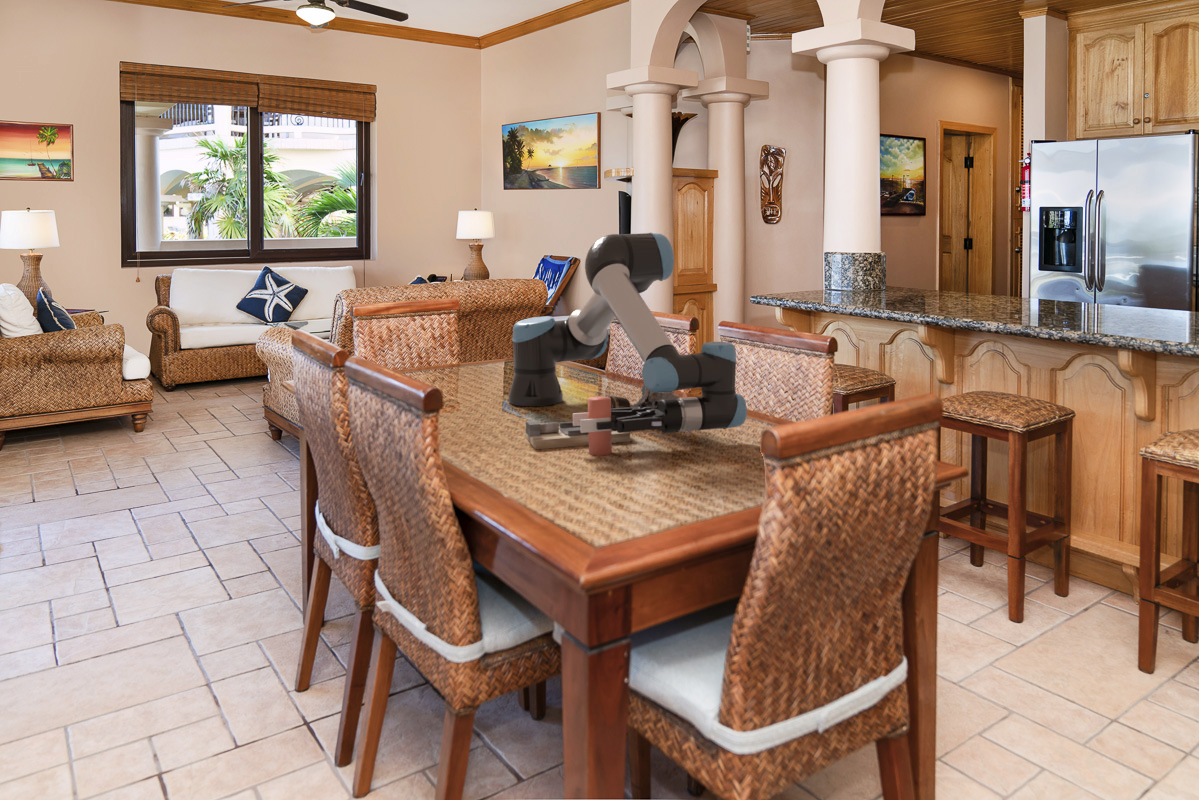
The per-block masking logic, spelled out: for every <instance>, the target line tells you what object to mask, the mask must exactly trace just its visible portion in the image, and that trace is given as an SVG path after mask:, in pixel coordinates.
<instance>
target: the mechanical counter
mask: <svg viewBox="0 0 1199 800" xmlns="http://www.w3.org/2000/svg"><path fill="white" fill-rule="evenodd" d="M607 397H610V398H611V408H627V407H631V406H630V405H631V401H630V400H629V399H628V398H625V397H620V396H615V395H608V396H607Z"/></svg>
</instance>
